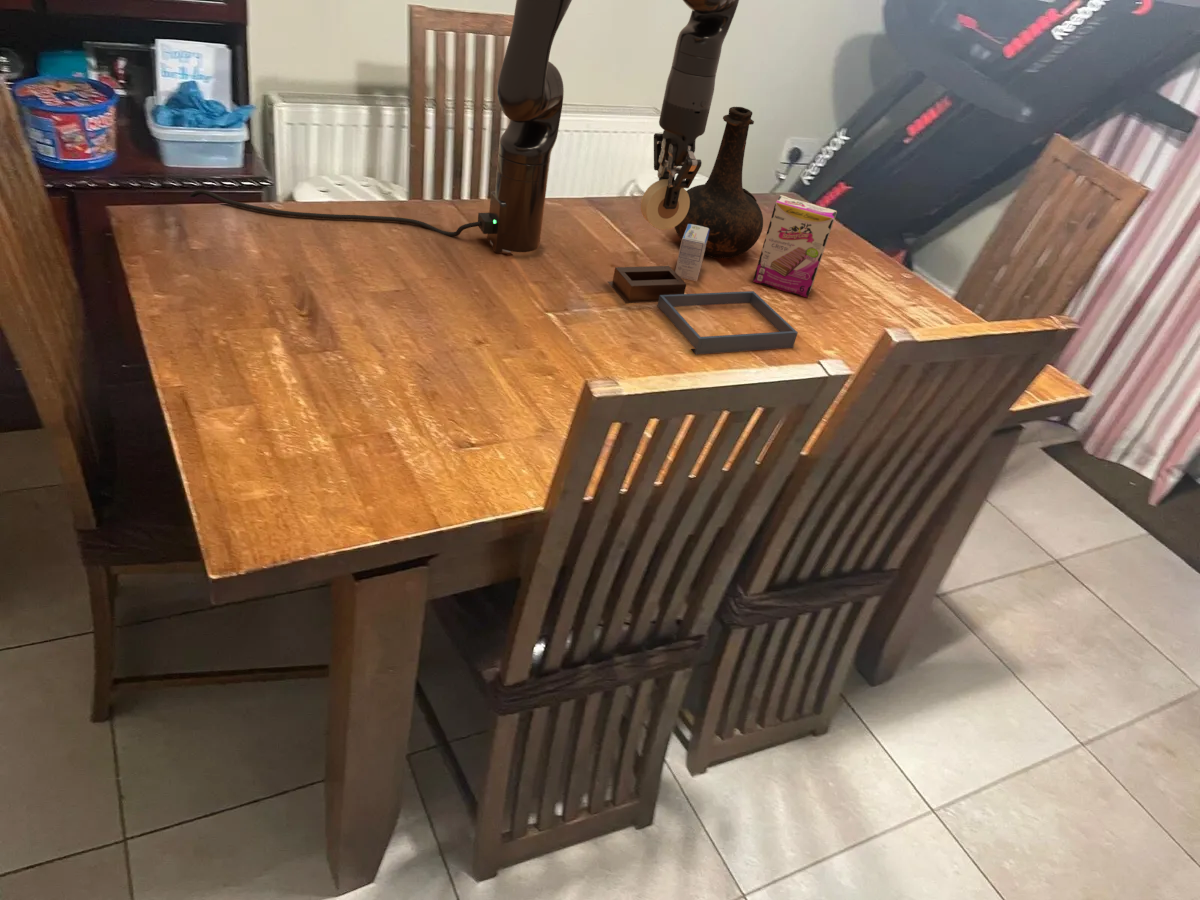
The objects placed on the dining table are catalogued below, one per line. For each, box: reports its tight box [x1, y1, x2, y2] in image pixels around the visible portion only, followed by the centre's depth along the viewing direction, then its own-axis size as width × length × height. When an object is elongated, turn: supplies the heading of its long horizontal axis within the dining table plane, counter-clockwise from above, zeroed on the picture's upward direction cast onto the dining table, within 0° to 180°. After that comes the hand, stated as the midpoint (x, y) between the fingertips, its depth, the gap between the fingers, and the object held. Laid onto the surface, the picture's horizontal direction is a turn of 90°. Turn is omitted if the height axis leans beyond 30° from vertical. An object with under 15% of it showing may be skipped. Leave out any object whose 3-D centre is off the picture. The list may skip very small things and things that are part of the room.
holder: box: [607, 265, 687, 304], centre depth 164 cm, size 8×12×4 cm
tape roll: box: [640, 179, 690, 231], centre depth 155 cm, size 2×8×8 cm, turn 113°
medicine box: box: [674, 224, 710, 282], centre depth 173 cm, size 8×4×9 cm, turn 168°
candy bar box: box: [752, 194, 838, 298], centre depth 173 cm, size 11×5×16 cm, turn 71°
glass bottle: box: [674, 106, 764, 259], centre depth 179 cm, size 18×18×28 cm
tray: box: [657, 290, 799, 356], centre depth 158 cm, size 19×15×3 cm
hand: (665, 204), depth 155 cm, fingers closed on tape roll, 2 cm apart
